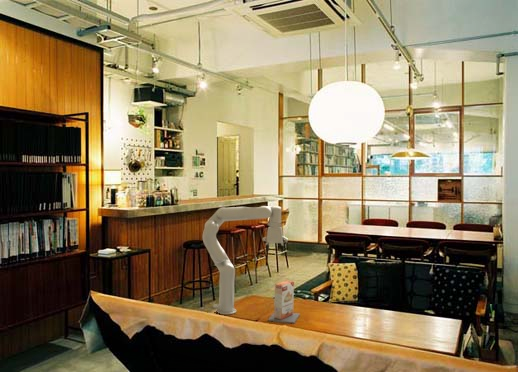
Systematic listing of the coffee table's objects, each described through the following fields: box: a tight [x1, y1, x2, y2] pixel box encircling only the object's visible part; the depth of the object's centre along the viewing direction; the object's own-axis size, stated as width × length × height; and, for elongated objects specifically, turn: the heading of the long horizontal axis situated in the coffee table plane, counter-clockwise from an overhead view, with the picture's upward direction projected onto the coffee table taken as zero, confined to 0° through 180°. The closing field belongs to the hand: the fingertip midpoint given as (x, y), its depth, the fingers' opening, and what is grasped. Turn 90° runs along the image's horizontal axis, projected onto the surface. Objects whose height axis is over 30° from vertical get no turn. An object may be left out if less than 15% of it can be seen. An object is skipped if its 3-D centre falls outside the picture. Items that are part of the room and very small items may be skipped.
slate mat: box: [267, 312, 301, 325], centre depth 268 cm, size 16×18×1 cm
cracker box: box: [273, 279, 295, 320], centre depth 268 cm, size 14×6×21 cm, turn 145°
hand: (274, 251), depth 285 cm, fingers open, 9 cm apart
